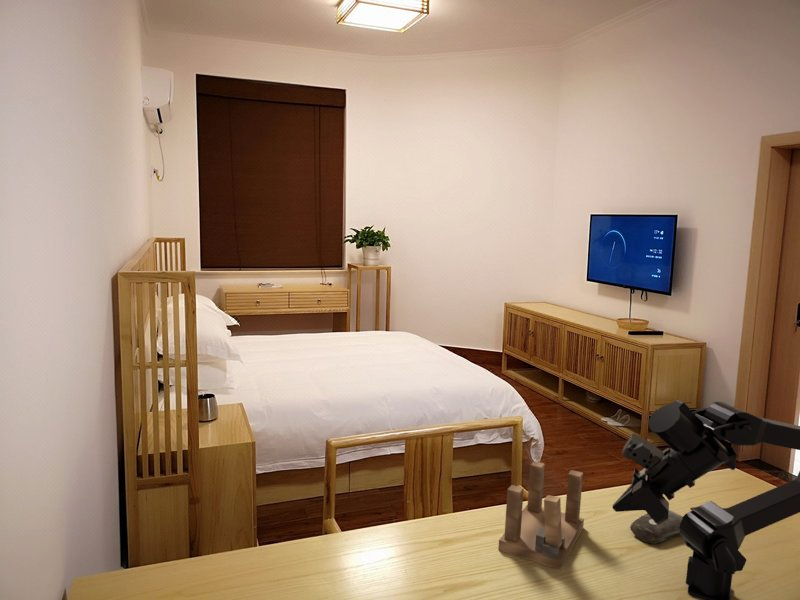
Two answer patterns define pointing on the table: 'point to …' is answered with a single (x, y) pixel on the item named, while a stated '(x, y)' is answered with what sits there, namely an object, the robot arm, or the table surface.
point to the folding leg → (552, 520)
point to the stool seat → (541, 520)
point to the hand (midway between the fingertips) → (614, 508)
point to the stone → (657, 528)
